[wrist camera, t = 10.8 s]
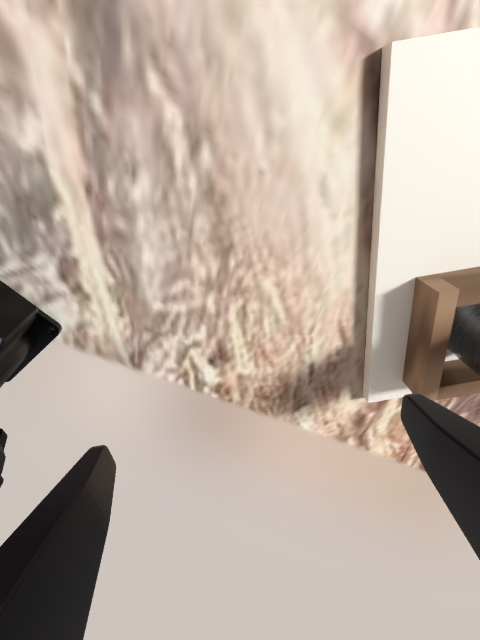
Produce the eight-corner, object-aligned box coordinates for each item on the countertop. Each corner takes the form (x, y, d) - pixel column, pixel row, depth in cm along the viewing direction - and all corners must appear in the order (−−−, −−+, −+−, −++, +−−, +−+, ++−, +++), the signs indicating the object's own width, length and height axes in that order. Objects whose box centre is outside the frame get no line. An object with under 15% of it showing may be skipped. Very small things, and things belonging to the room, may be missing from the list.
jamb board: (526, 366, 27) (536, 374, 26) (362, 394, 27) (367, 402, 26) (660, 0, 16) (687, -8, 15) (382, 47, 16) (392, 41, 15)
